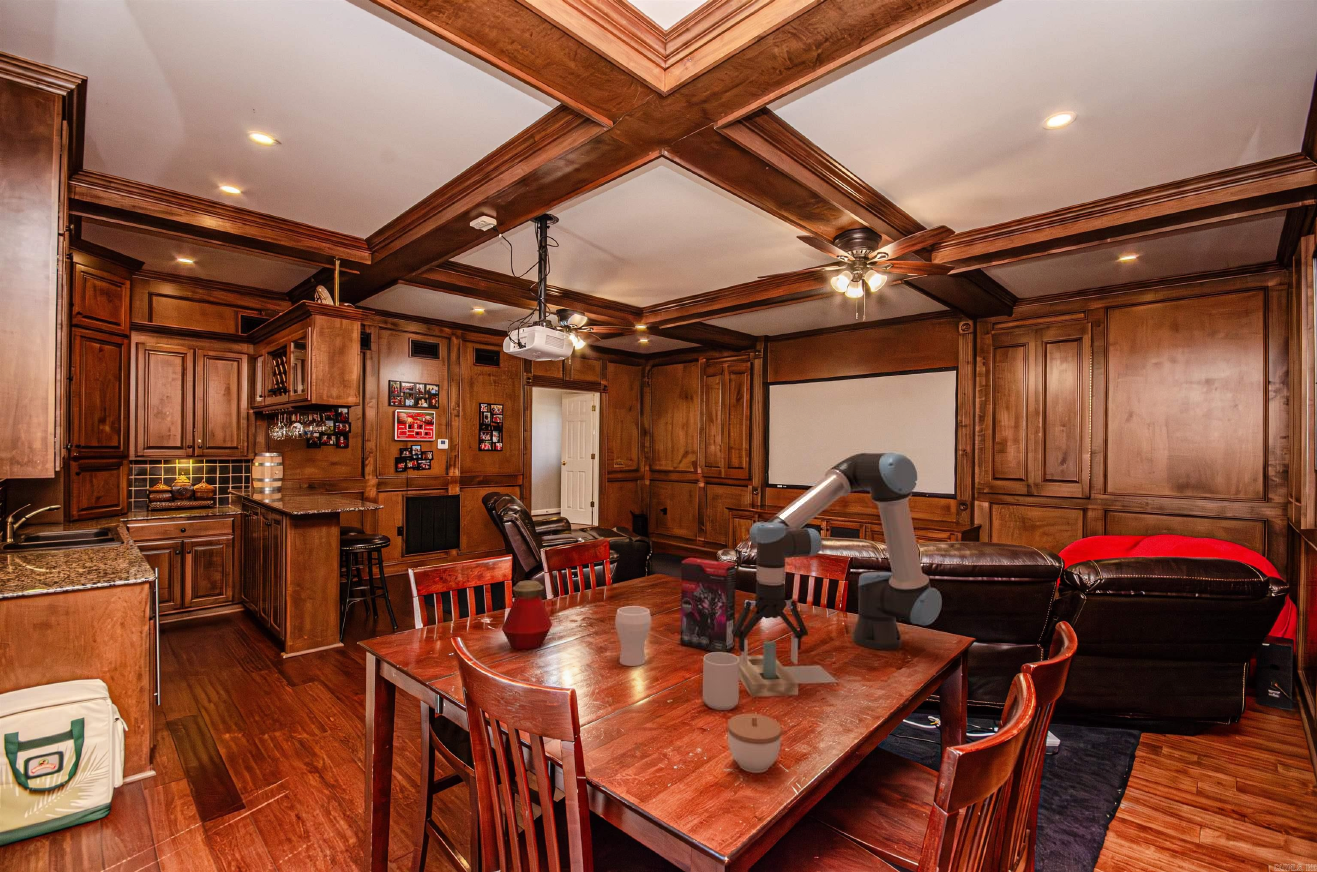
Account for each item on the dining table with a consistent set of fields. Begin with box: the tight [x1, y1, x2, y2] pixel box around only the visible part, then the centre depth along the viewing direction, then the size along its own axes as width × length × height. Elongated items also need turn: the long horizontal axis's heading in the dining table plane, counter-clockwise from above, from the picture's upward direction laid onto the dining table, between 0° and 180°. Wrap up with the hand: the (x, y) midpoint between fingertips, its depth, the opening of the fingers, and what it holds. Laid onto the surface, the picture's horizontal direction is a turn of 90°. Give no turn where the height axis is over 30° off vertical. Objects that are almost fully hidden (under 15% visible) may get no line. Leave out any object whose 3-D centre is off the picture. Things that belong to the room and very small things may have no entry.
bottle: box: [501, 580, 553, 651], centre depth 182 cm, size 16×14×20 cm
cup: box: [614, 605, 652, 667], centre depth 170 cm, size 11×11×15 cm
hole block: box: [736, 654, 799, 699], centre depth 156 cm, size 12×20×4 cm, turn 8°
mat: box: [783, 665, 838, 685], centre depth 161 cm, size 12×12×1 cm
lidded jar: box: [726, 713, 783, 774], centre depth 115 cm, size 11×11×9 cm
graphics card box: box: [679, 557, 737, 653], centre depth 183 cm, size 17×7×27 cm, turn 57°
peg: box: [762, 640, 777, 680], centre depth 151 cm, size 3×3×12 cm
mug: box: [702, 652, 740, 711], centre depth 144 cm, size 12×9×11 cm
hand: (769, 662), depth 151 cm, fingers open, 13 cm apart
